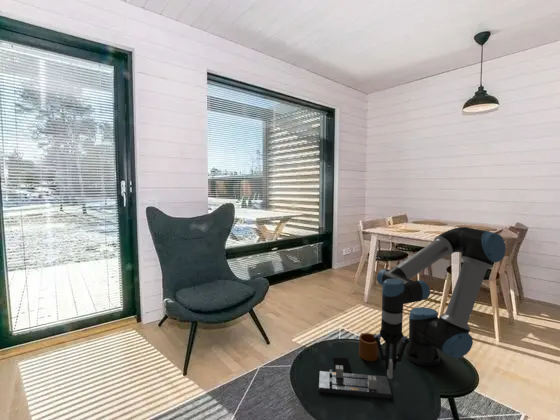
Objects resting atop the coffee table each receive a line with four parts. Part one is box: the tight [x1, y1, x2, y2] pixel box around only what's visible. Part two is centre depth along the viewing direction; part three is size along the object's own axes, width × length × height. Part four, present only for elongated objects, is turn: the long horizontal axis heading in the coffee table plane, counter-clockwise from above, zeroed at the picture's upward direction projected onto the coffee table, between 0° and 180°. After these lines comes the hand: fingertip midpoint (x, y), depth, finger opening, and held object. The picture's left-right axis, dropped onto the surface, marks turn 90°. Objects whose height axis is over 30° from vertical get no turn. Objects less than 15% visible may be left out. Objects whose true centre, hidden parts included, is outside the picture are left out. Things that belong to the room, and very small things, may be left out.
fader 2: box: [368, 375, 377, 389], centre depth 122 cm, size 3×2×4 cm
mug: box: [358, 332, 379, 362], centre depth 147 cm, size 9×12×9 cm
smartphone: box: [332, 357, 353, 374], centre depth 137 cm, size 7×1×15 cm
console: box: [318, 369, 393, 399], centre depth 126 cm, size 28×10×4 cm, turn 80°
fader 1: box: [336, 365, 343, 378], centre depth 129 cm, size 3×2×4 cm
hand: (389, 376), depth 120 cm, fingers closed
